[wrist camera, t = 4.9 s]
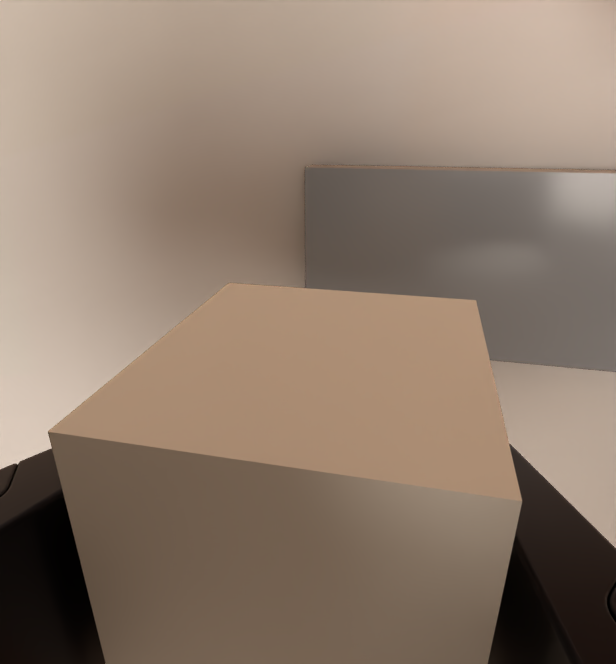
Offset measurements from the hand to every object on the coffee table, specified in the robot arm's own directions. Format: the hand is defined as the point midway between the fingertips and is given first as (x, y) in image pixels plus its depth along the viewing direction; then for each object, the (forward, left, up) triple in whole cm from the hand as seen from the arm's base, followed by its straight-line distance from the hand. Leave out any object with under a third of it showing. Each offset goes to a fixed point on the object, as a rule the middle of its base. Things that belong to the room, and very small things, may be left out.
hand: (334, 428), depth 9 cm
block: (0, 0, -1) cm, 1 cm away
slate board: (0, -7, -12) cm, 14 cm away
